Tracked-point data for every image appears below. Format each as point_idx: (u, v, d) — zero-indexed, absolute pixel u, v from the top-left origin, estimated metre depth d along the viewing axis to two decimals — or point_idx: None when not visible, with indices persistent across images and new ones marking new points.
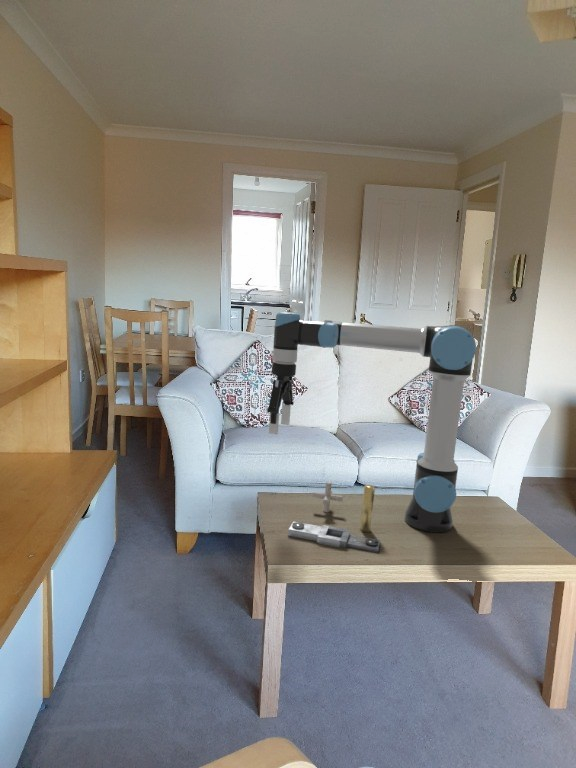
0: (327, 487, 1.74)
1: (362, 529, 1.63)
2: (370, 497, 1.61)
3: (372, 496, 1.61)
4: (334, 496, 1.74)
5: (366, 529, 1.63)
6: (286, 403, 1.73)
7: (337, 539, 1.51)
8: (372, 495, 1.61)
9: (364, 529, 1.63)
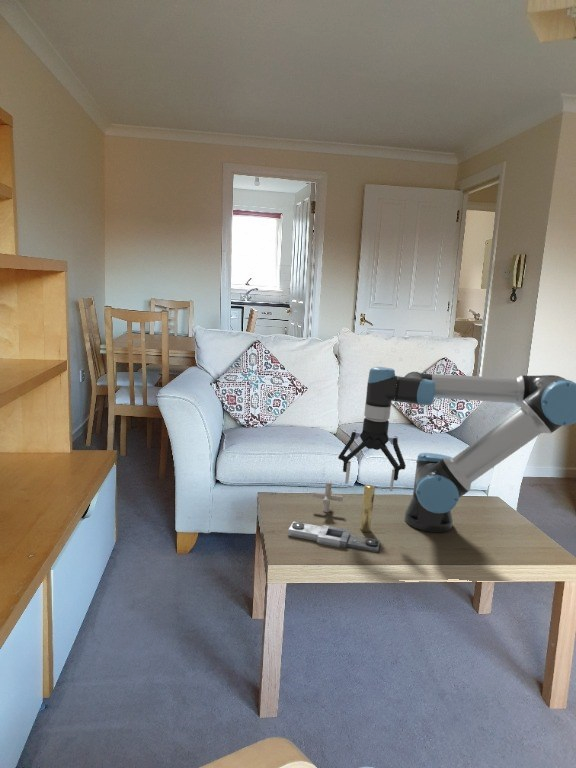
0: (327, 487, 1.74)
1: (362, 529, 1.63)
2: (370, 497, 1.61)
3: (372, 496, 1.61)
4: (334, 496, 1.74)
5: (366, 529, 1.63)
6: None
7: (337, 539, 1.51)
8: (372, 495, 1.61)
9: (364, 529, 1.63)
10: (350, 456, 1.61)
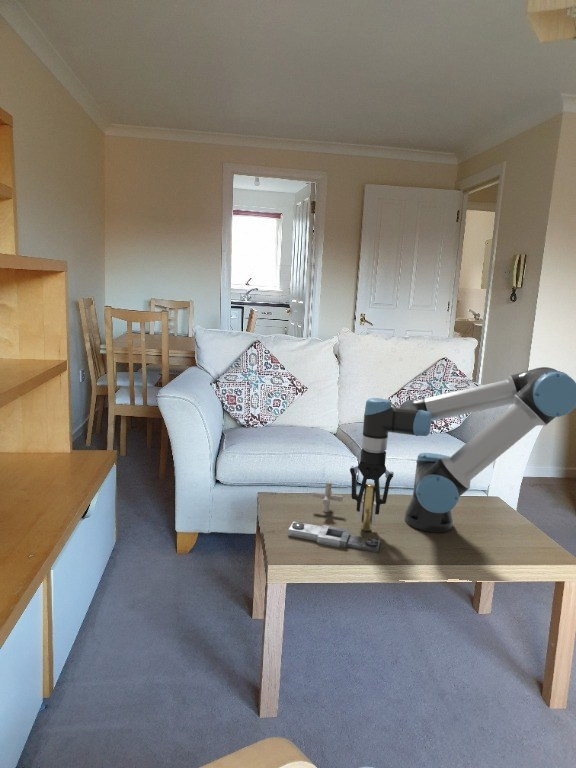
0: (327, 487, 1.74)
1: (363, 528, 1.63)
2: (371, 496, 1.61)
3: (373, 495, 1.61)
4: (334, 496, 1.74)
5: (367, 528, 1.62)
6: (376, 501, 1.62)
7: (337, 539, 1.51)
8: (373, 494, 1.61)
9: (365, 528, 1.62)
10: (360, 494, 1.62)
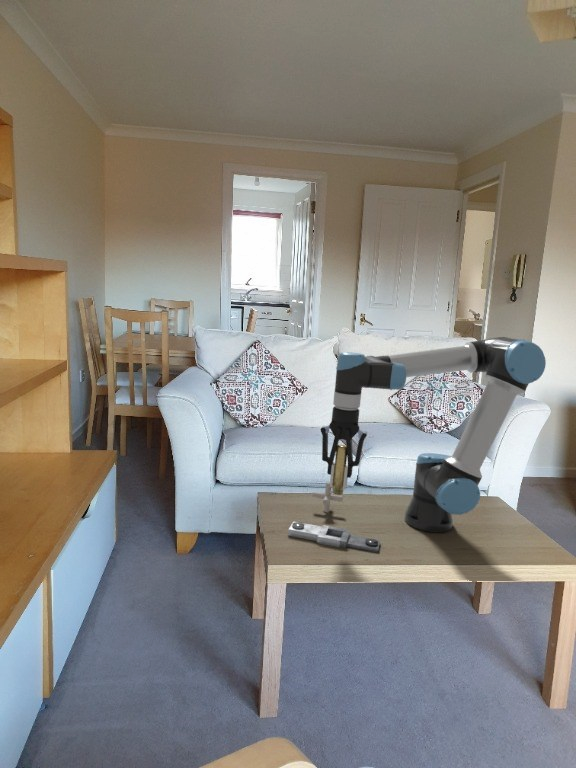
0: (327, 487, 1.74)
1: (334, 492, 1.52)
2: (343, 458, 1.50)
3: (345, 456, 1.50)
4: (334, 496, 1.74)
5: (338, 492, 1.52)
6: None
7: (337, 539, 1.51)
8: (345, 455, 1.50)
9: (336, 492, 1.52)
10: (331, 455, 1.51)
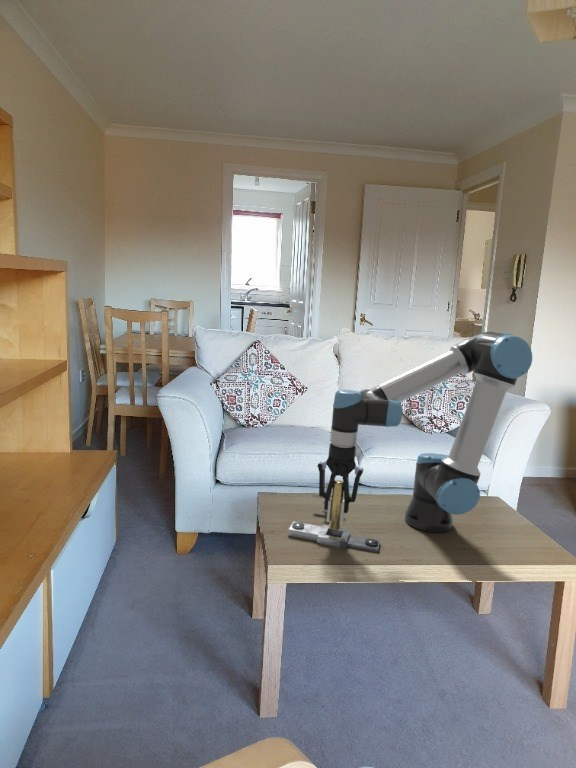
0: (327, 487, 1.74)
1: (331, 527, 1.54)
2: (339, 494, 1.52)
3: (341, 492, 1.52)
4: None
5: (335, 527, 1.53)
6: None
7: (337, 539, 1.51)
8: (341, 491, 1.52)
9: (333, 527, 1.53)
10: (328, 491, 1.53)
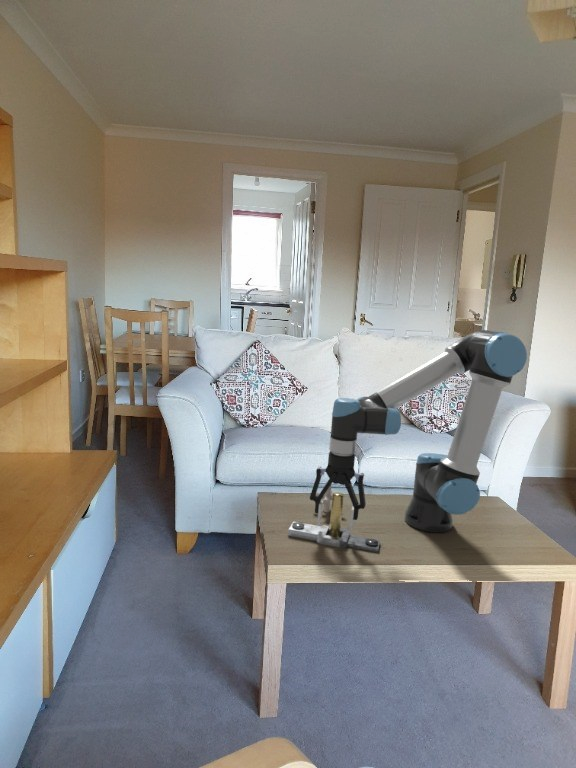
0: None
1: None
2: (338, 506, 1.52)
3: (340, 504, 1.53)
4: None
5: None
6: None
7: (337, 539, 1.51)
8: (340, 503, 1.52)
9: None
10: (320, 496, 1.53)
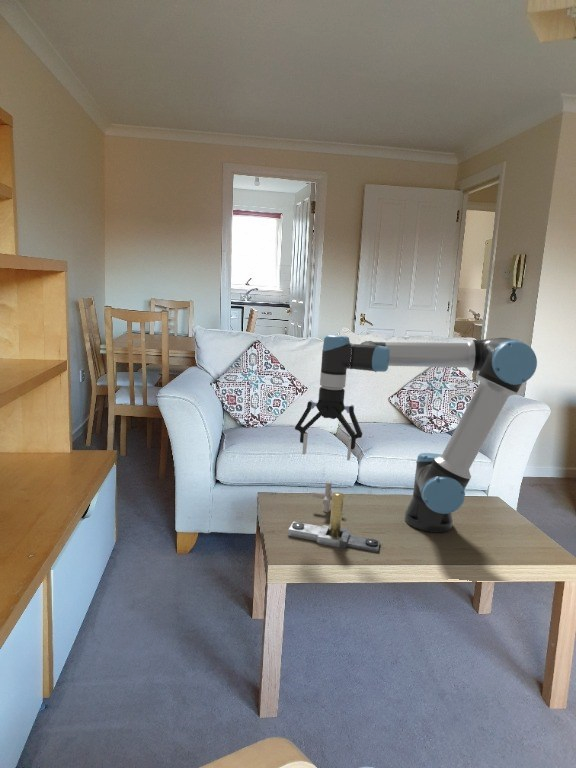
0: (327, 487, 1.74)
1: None
2: (338, 506, 1.52)
3: (341, 504, 1.53)
4: None
5: None
6: None
7: (337, 539, 1.51)
8: (341, 503, 1.52)
9: None
10: (307, 426, 1.59)
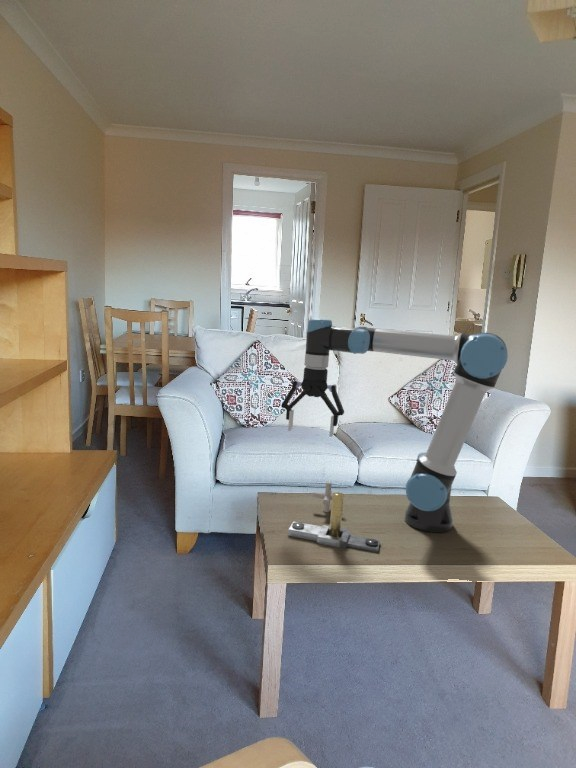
0: (327, 487, 1.74)
1: None
2: (338, 506, 1.52)
3: (341, 504, 1.53)
4: None
5: None
6: None
7: (337, 539, 1.51)
8: (341, 503, 1.52)
9: None
10: (292, 404, 1.70)
